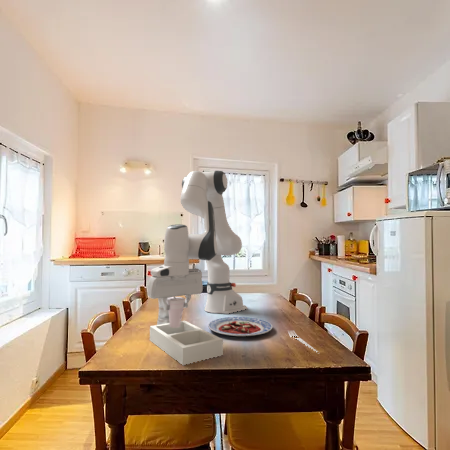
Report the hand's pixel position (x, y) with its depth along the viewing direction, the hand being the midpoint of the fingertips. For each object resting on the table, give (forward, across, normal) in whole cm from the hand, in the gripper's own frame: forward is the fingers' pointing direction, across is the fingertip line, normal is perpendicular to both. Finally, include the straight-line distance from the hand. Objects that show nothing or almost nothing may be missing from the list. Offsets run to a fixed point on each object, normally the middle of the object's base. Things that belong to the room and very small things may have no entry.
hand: (176, 308), depth 111 cm
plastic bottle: (+12, -3, -16) cm, 20 cm away
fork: (+12, -37, +26) cm, 47 cm away
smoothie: (+6, 0, 0) cm, 6 cm away
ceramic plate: (+12, -28, +1) cm, 31 cm away
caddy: (+12, 0, +6) cm, 13 cm away
